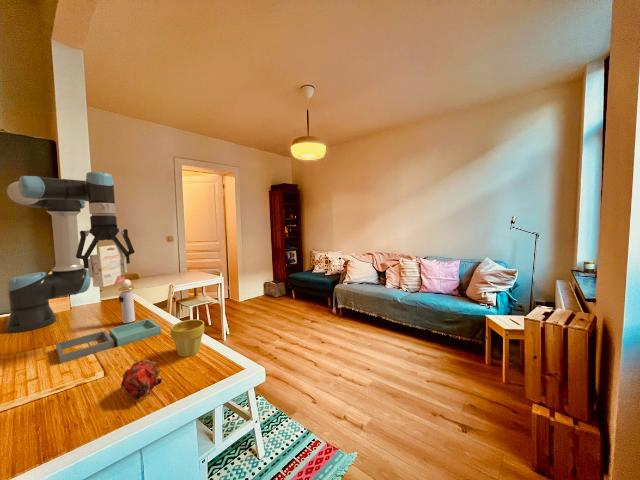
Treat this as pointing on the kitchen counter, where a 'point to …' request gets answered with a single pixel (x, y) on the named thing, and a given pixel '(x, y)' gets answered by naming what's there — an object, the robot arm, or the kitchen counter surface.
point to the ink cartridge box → (107, 266)
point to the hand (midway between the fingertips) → (108, 274)
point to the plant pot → (187, 336)
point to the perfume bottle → (127, 302)
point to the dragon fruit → (140, 378)
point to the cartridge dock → (84, 351)
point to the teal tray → (134, 332)
